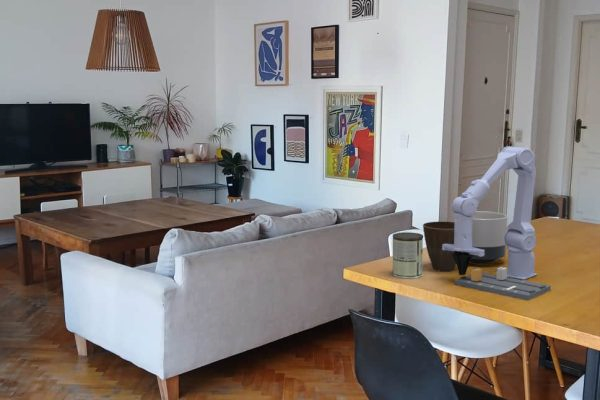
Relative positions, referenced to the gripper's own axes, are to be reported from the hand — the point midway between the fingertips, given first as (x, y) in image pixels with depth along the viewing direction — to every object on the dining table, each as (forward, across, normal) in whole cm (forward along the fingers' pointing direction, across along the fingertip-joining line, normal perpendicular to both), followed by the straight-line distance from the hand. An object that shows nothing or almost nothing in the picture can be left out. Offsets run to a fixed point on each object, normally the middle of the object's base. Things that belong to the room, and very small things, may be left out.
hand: (462, 274), depth 207 cm
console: (+3, +12, +4) cm, 13 cm away
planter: (+3, -12, +30) cm, 33 cm away
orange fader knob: (+1, +5, 0) cm, 5 cm away
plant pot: (+3, -15, +11) cm, 19 cm away
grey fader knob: (+1, +10, +7) cm, 12 cm away
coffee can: (+3, -19, -5) cm, 19 cm away
